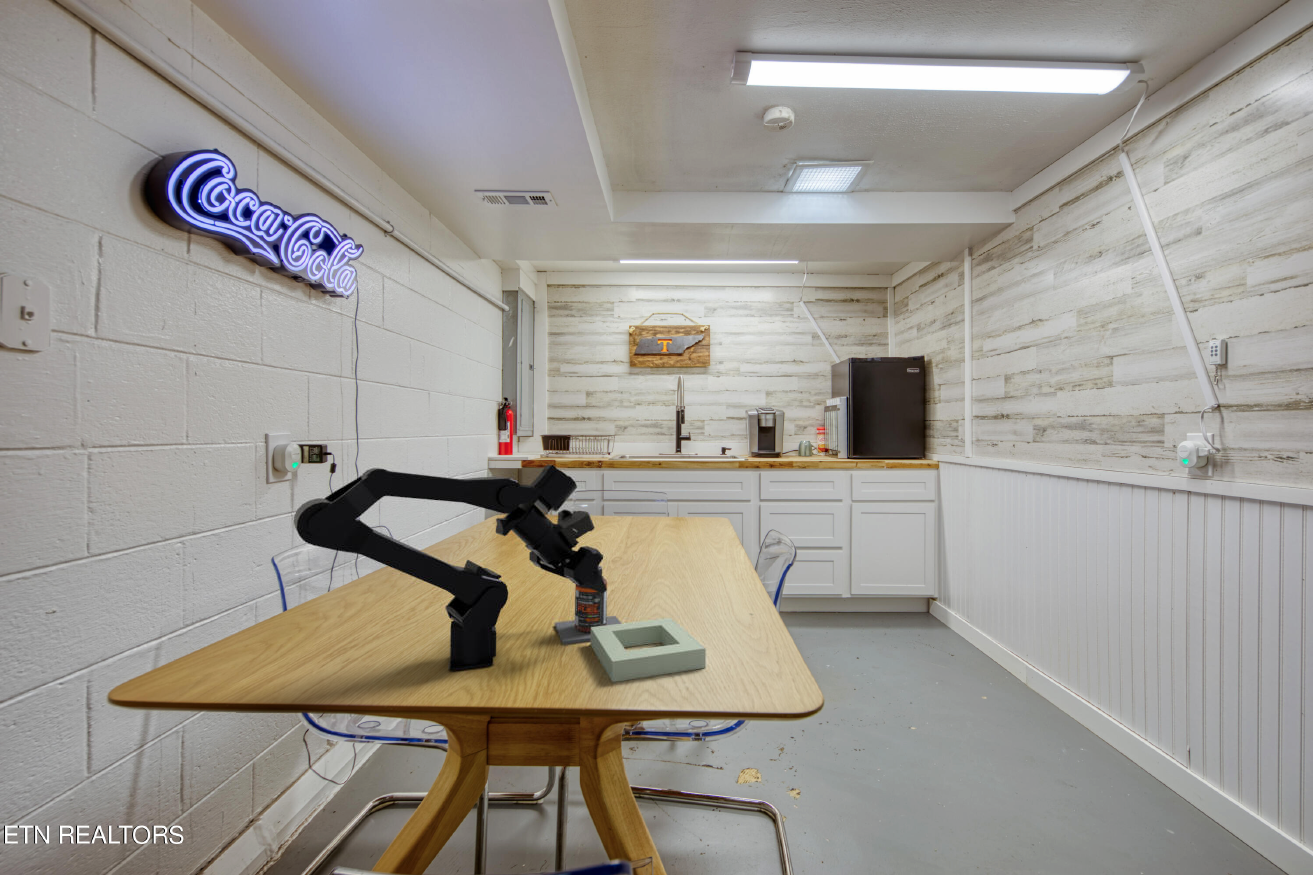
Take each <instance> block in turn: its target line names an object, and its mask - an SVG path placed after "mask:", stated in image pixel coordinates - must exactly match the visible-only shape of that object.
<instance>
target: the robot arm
mask: <svg viewBox="0 0 1313 875" xmlns="http://www.w3.org/2000/svg"><path fill="white" fill-rule="evenodd" d="M577 488H578V485H577V483H576V482H575V480H574V479H573V478H572V477H571V476H570V475H567V474H566V473H565V472H564V471H562V470H561V469H558V468H557V467H556V466H555V465H554V464H547V465H545V467H543V469H542V471H541V472H540V473H539V475H538V476H537V477H536V478H535V479H534V480H533V481H532V482H531V483H530V484H523V483H519V481H518V480H515V479H513V478H510V477H502V476H482V477H471V478H454V477H443V476H436V475H428V474H427V475H425V474H419V473H410V472H409V473H408V472H400V471H390V470H388V469H384V468H379V467H372V468H369V469H367V470H365V472H363V473H362V474H361V475H360V476H358V477H357V478H355V479H353V480H352V481H350V482H349V483H347V484H345V485H343V486H342V487H339V488H338V489H336V490H335V491H333V492H331V493H330V494H328V495H326V496H325V497H324V498H313V499H310V500H308V501H306V502H304V503H302V504H301V505H300V506H299V507H298V508H297V510H296V511H295V513H294V517H293V525H294V529H295V530H296V532H297V535H298V536H299V537H300V538H301V539H302V541H304V542H305V543H306V544H308V545H312V546H315V547H319V548H322V549H327V550H333V551H336V552H337V551H338V552H344V553H349V554H350V553H351V554H357V555H361V556H363V557H365V558H368V559H371V560H372V561H375V562H377V563H380V564H383V565H384V566H387V567H389V568H392V569H394V570H397V571H399V572H401V573H403V574H407V575H409V576H411V577H413V578H416V579H418V580H421V581H423V582H425V583H427V584H430V585H432V586H434V587H437V588H439V589H442V590H445V591H447V592H448V593H449V594H451V595H452V596H453V598H452V599H451V600H450V601H449V602H448V603H447V605H446V606H445V611H446V613H447V616H448V618H449V619H450V620H451V623H450V627H449V628H450V634H449V635H450V637H449V640H450V644H449V651H450V652H449V655H450V656H449V664H448V671H451V672H454V671H460V670H462V671H463V670H468V669H476V668H483V667H490V666H494V658H496V656H497V627H496V625H497V622H498V619H499V617H500V614H501V610H502V609H503V608H504V607H505V606H506V604H507V601H508V599H509V590H508V585H507V584H506V583H505V582H504V581H502V580H501V578H502V575H501V574H499V573H498V572H495V571H493V570H491V569H490V568H488V567H482V566H481V565H480V564H478V563H475V562H473V561H471V560H469V559H466V562H465V564H464V566H458V565H453V564H451V563H448V562H446V561H444V560H441V559H439V558H437V557H435V556H433V555H430V554H428V553H427V552H424V551H422V550H420V549H417V548H415V547H413V546H411V545H409V544H406V543H404V542H402V541H400V540H397V539H395V538H393V537H391V536H389V535H387V534H385V533H382V532H379V531H378V530H375V529H373V528H372V527H370V526H369V525H367V524H366V523H365V522H363V521H362V520H360V519H359V517H361V516H362V515H363V514H364V513H366V511H369V509H370V508H371V507H372V506H374V505H375V503H377V502H379V500H381V499H382V498H384V497H393V498H394V497H395V498H406V499H407V498H408V499H418V500H428V501H440V502H441V501H442V502H450V503H452V502H453V503H463V504H467V505H470V506H471V505H472V506H474V507H478V508H482V509H486V510H489V511H492V512H496V513H500V514H505V516H504V517H497V518H496V519H495V521H496V522H495V523H496V527H495V533H496V534H497V535H501V536H504V537H505V536H508V534H509V533H510V532H511V531H512V532H513V533H514V534H515V535H516V536H517V537H518V538H519V539H520V540H521V541H522V542H523V543H524V544H525V548H526V549H527V550H529V551H530V552H529V553H528V554H529V556H528V557H529V561H530V562H531V563H532V564H533V565H534V566H535V567H537V568H540V569H541V570H543V571H545V572H549V573H550V574H551V573H552V574H553V575H556V576H559V577H562V578H565V579H567V580H569V581H570V582H572V583H573V584H575V585H576V584H577V585H579V586H583V587H586V588H589V589H592V590H595V591H598V592H601V593H604V592H605V591H606V590H607V591H608V586H607V587H606V585H605V583H604V581H603V579H602V577H601V575H600V572H599V570H598V566H600V564H601V563H602V561H603V559H604V555H603V554H602V553H601V552H600V551H599V550H598V548H594V547H591V546H587V545H585V546H579V548H578V549H577V550H574V549H573V548H575V547H577V545H578V544H579V541H578V539H579V538H581V537H583V535H585V534H587V533H588V532H592V531H594V530H595V529H596V528H595V526H594V523H593V520H592V517H591V515H590V512H587V511H584V510H577V511H576V510H573V512H572V511H570V510H568V509H562V510H561V511H559V510H560V508H561V507H562V506H563V505H564V504H565V503H566V501H567V500H568V499H569V498H570V497H571V496H572V494H573V493H574V492H575V491H576V490H577ZM543 511H544V512H545V513H550V511H552V512H557V521H556V522H557V523H555V522H554V523H553V522H552V520H551V519H549V517H548V516H547V515H546V514H544V512H543ZM558 511H559V512H558Z"/></svg>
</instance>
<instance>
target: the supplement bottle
mask: <svg viewBox="0 0 1313 875" xmlns="http://www.w3.org/2000/svg"><path fill="white" fill-rule="evenodd" d="M598 570H599V572H600V575H601V577H602V579H603V581H604V583H605V585H606V587H607V588H608V582H607V579H606V578H605V577H604V576H603V566H601V565H599V566H598ZM574 594H575V596H574V620H575V628H576V629H577V630H578V631H581V632H586V633H591V627H597V626H606V622H607V617H608V614H607V612H608V611H607V609H608V607H607V606H608V589H607V590H606V591H605V592H604V593H601V592H598V591H595V590H592V589H589V588H586V587H583V586H579V585H577V584H575V592H574Z"/></svg>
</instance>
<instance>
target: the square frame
mask: <svg viewBox="0 0 1313 875" xmlns="http://www.w3.org/2000/svg"><path fill="white" fill-rule="evenodd" d="M659 643H661V644H662V645H661V646H654V647H647V648H640V649H632V650H626V649H625V648H629V647H635V646H643V645H649V644H650V645H651V644H659ZM590 646H591V648H592V650H593V651H594V653H595V655H596V657H597V658H598V660H599V662H600V664H601V666H602V667H603V669H604V670H605V671H606V674H607V675H608V677H609V679H610V680H611V682H612V683H616V682H623V681H628V680H635V679H641V678H649V677H654V676H661V675H667V674H673V673H680V672H686V671H687V672H688V671H691V670H700V669H704V668H706V667H707V665H706V660H707V657H706V655H707V654H706V652H707V650H706V649H707V648H706V647H705V646H704V645H703V644H701V643H700V642H699V641H698V640H697V639H696V638H695V637H694V636H692V635H691V634H690V633H689V632H688V631H687V630H685V629H684V628H683V627H682V626H681V625H680V624H679V623H677V621H675V620H674V619H673V618H672V617H667V618H666V617H665V618H659V619H649V620H642V621H640V620H639V621H633V622H625V623H622V624H614V625H606V626H597V627H591V641H590Z"/></svg>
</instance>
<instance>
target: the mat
mask: <svg viewBox="0 0 1313 875" xmlns="http://www.w3.org/2000/svg"><path fill="white" fill-rule="evenodd" d="M614 624H623V623H622V622H621V621H620V620H619V619H618V617H617V616H616V615H610V616H607V622H606V625H614ZM554 627H555V629H556V632H557V634H558V637H559V639H560V641H561V642H562V645H564V646H565V645H569V644H570V645H571V644H572V645H573V644H578V643H588V642H591V633H586V632H581V631H578V630H577V629H576V628H575V619H574V620H565V621H558V622H557V621H556V622H554Z"/></svg>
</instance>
